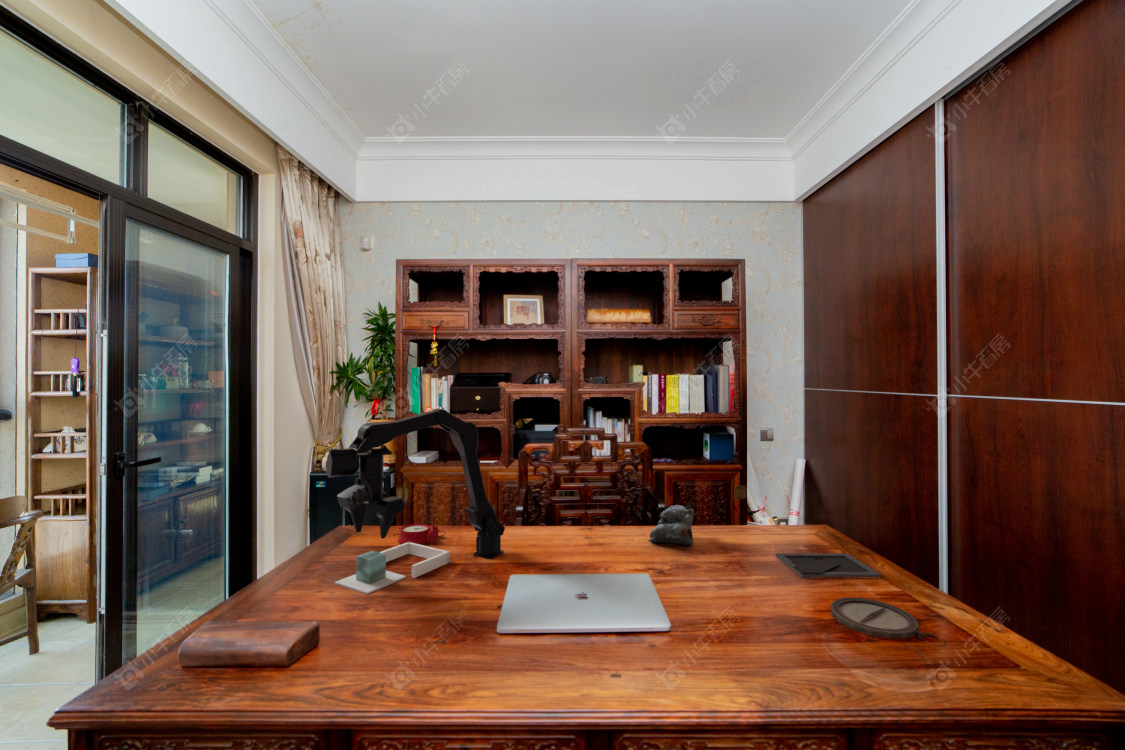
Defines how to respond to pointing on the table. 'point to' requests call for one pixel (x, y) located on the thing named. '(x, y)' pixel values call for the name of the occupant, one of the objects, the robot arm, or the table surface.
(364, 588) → the grey mat
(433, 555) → the white u-shaped frame
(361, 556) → the teal block
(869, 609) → the compass
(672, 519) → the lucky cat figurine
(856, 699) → the table surface
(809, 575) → the picture frame
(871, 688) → the table surface
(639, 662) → the table surface
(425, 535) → the alarm clock
